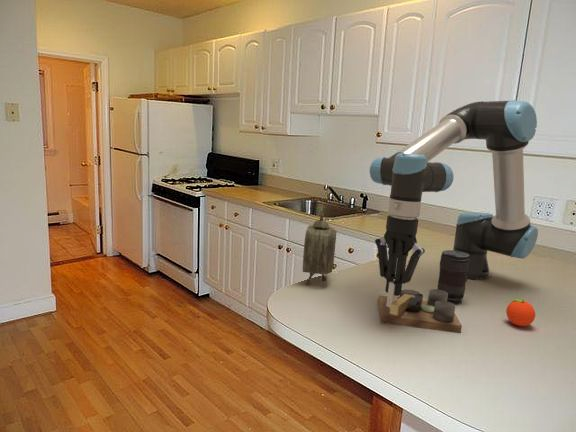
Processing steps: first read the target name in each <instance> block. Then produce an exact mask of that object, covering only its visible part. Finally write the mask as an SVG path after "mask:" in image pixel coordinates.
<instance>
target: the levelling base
mask: <svg viewBox="0 0 576 432" xmlns="http://www.w3.org/2000/svg"><path fill="white" fill-rule="evenodd" d="M387 296H388V295H383V294H382V295H381V294H380V295H379V294H378V296H377V297H378V298H377V306H378V311H379V319H380V324H387V325H388V324H389V325H395V326H396V325H397V326H404V327H411V328H419V329H427V330H437V331H441V332H442V331H444V332H451V333H460V334H461V333H462V325H463V324H462V323H461V321H460V320H459V318H458V316H457V315H456V313H455V312H456V304H453V303H450V302H447V298H448V293H447V292H445V291H443V290H439V289H437V288H433V289H429V291H428V298H427V300H424V299H422V306H421V310H420V311H418V312H411V311H406V310H404V311H403V312H401V313H400V314H399V315H393V314H390V307H387V306H386V304H387ZM399 297H400V296H398V297H397V299H399Z"/></svg>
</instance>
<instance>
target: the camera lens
mask: <svg viewBox="0 0 576 432" xmlns="http://www.w3.org/2000/svg"><path fill="white" fill-rule="evenodd" d="M468 267H469V254H467V253H465V252H460V251H454V250H453V249H451V250H450V249H447V250H443V251H441V255H440V261H439V273H438V274H439V275H438V280H437V287H436V289H439V290H443V291H445V292H447V293H448V298H447V302H450V303H453V304H454V305H460V304H461V302H462V299H464V295H465V291H466V283H467V281H468V278H467V272H468Z"/></svg>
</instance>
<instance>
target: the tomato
mask: <svg viewBox="0 0 576 432" xmlns="http://www.w3.org/2000/svg"><path fill="white" fill-rule="evenodd" d="M508 301H511V302H510V303H508V305H507V307H506V311H505V312H506V317H507V319H508V320H509V321H510V322H511V324H513V325H515V326H518V327H526V326H530V325H531V324H532V323H533V322H534V320H535V318H536V310H535V308H534V307H533V306H532V304H531V303H530V302H528V301H526V300H522V299H519V298H513V299H512V298H510V299H508V300H507V302H508Z"/></svg>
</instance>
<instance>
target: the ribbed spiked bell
mask: <svg viewBox="0 0 576 432" xmlns="http://www.w3.org/2000/svg"><path fill="white" fill-rule="evenodd" d="M324 211H325V206H324V205H322V206H321V207H320V216H319V219H318V220H315V221H314V222H313V224H312V225H310V224H309V225H308V226H307V227H306V231H305V233H304V234H305V235H304V244H303V256H302V258H303V259H302V272H303V273H308V274H309V276H308V278H307V279H306V280H305V281H304V283H305V285H307V286H308V285H310V284H311V279H312V277H313V276H314V275H315V274H317V275H321V276H322V277H321V278H320V279H321V281H322V282H326V281H327V277H326V275H328V274H331V273H333V270H334V269H333V268H334V262H335V254H336V253H335V252H336V244H337V243H336V241H337V232H338V231H337V230H336V229H335V228H333V227H331V226H330V224H329V222H328V221H326V220H325V219H324Z"/></svg>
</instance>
